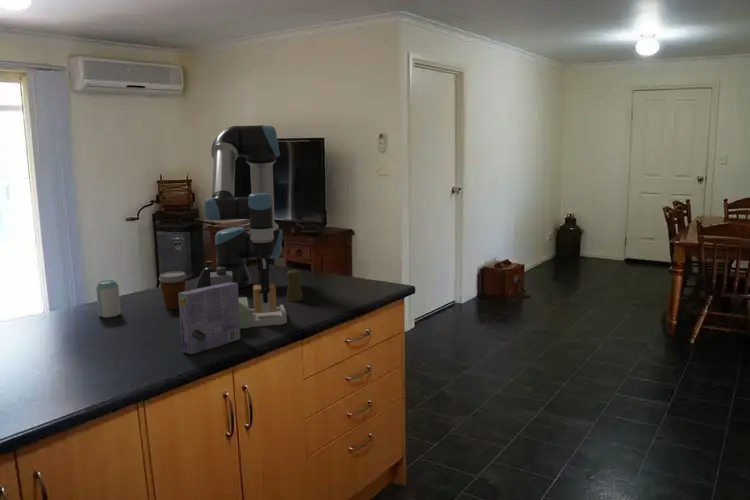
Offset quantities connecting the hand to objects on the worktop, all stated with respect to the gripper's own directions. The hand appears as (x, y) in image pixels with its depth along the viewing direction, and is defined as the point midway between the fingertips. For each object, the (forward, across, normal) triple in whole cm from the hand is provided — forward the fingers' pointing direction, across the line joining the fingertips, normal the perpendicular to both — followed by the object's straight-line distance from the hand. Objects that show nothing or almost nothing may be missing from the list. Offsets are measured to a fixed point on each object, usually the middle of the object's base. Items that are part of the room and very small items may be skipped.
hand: (265, 308), depth 211 cm
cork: (+4, -23, +12) cm, 27 cm away
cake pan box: (+4, +22, -17) cm, 28 cm away
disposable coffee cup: (+4, -25, -30) cm, 40 cm away
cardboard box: (0, 0, 0) cm, 0 cm away
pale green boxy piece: (+4, 0, -6) cm, 7 cm away
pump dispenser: (+4, -18, -18) cm, 25 cm away
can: (+4, -19, -52) cm, 55 cm away
